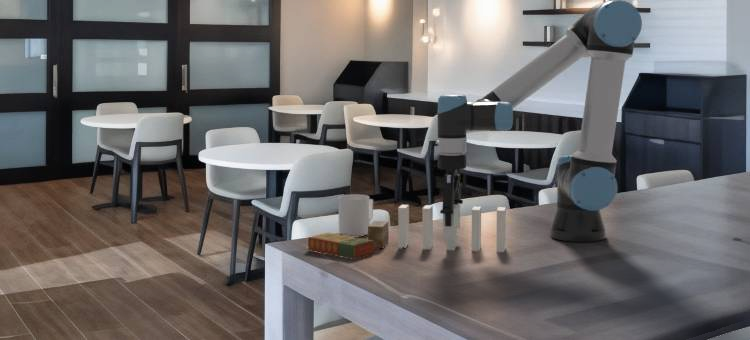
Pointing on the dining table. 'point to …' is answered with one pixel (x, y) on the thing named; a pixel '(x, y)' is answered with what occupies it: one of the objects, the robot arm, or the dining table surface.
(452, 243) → the domino
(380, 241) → the block
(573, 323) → the dining table surface
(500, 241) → the domino
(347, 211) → the mug
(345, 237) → the carton
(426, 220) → the domino
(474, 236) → the domino
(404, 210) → the domino
